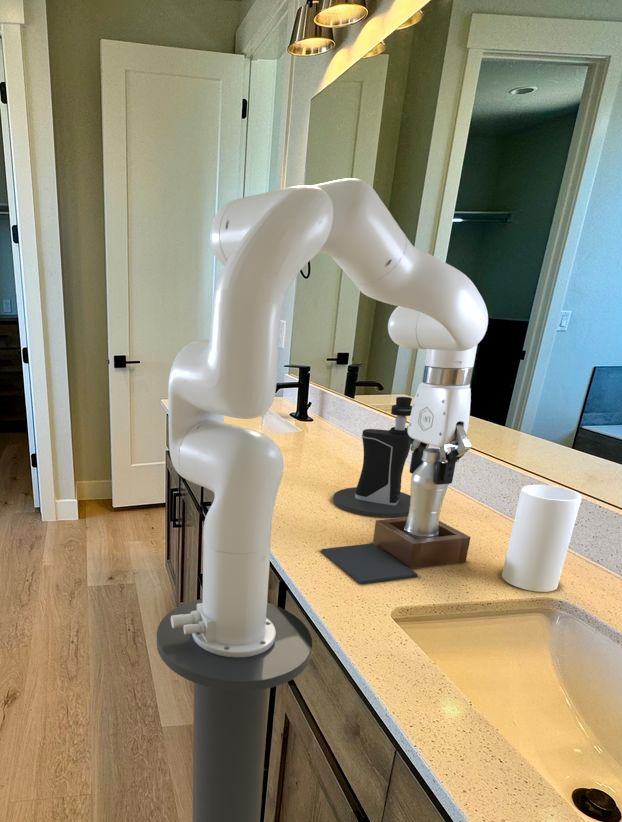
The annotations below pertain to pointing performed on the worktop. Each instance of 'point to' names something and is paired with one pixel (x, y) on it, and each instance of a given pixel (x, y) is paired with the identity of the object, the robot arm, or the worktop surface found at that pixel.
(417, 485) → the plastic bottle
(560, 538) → the cup
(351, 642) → the worktop surface
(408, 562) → the brown wooden box
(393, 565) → the mat
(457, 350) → the robot arm
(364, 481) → the vape
